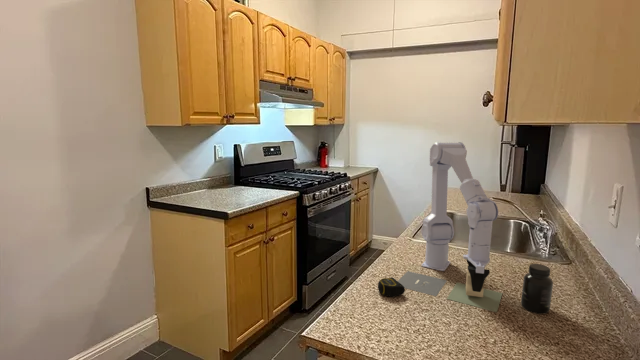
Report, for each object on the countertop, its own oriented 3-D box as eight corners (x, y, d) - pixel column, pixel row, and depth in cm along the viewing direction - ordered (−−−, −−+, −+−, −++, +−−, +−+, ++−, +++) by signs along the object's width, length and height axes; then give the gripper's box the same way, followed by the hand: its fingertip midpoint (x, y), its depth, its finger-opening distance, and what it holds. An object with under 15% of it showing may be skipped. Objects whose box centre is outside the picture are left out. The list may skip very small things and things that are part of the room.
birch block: (465, 288, 107) (467, 269, 106) (481, 290, 105) (483, 271, 104) (466, 294, 103) (467, 275, 102) (482, 297, 101) (484, 277, 100)
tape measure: (405, 297, 103) (406, 285, 103) (384, 300, 101) (385, 288, 101) (393, 287, 110) (394, 275, 109) (373, 289, 108) (374, 278, 107)
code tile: (407, 271, 122) (407, 271, 121) (447, 280, 115) (447, 280, 115) (393, 285, 111) (393, 285, 111) (436, 296, 104) (436, 296, 104)
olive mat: (456, 282, 113) (456, 282, 113) (502, 293, 106) (502, 293, 106) (446, 299, 102) (446, 298, 102) (496, 312, 95) (496, 311, 95)
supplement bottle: (515, 304, 100) (519, 263, 98) (531, 300, 102) (536, 260, 100) (538, 316, 93) (543, 273, 91) (555, 311, 96) (560, 269, 94)
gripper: (463, 233, 110) (460, 275, 112) (465, 248, 96) (462, 296, 98) (488, 236, 107) (484, 278, 109) (494, 252, 94) (490, 300, 96)
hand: (475, 287), depth 104 cm, fingers closed on birch block, 4 cm apart
